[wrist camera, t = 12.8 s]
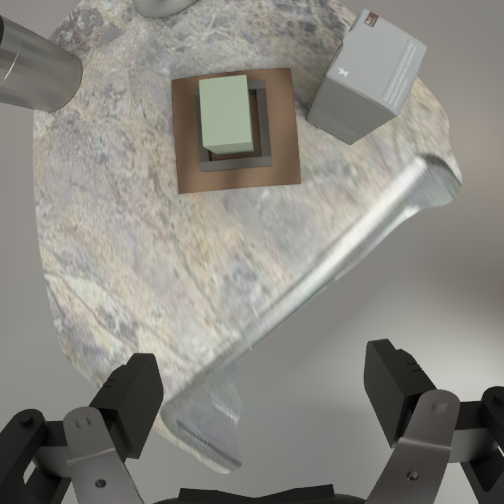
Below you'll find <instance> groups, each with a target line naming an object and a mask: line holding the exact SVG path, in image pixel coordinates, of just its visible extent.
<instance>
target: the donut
mask: <svg viewBox="0 0 504 504" xmlns="http://www.w3.org/2000/svg"><path fill="white" fill-rule="evenodd" d="M195 1H196V0H132V2H133V4H134V7H135V9H136V11H137V12H138V13H140V14H141V15H143V16H145V17H149V18H162V17H167V16H170V15H174V14H176V13H178V12H180V11H182V10H184V9H186V8H187V7H189V6H190V5H192V4H193V3H194V2H195Z"/></svg>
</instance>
